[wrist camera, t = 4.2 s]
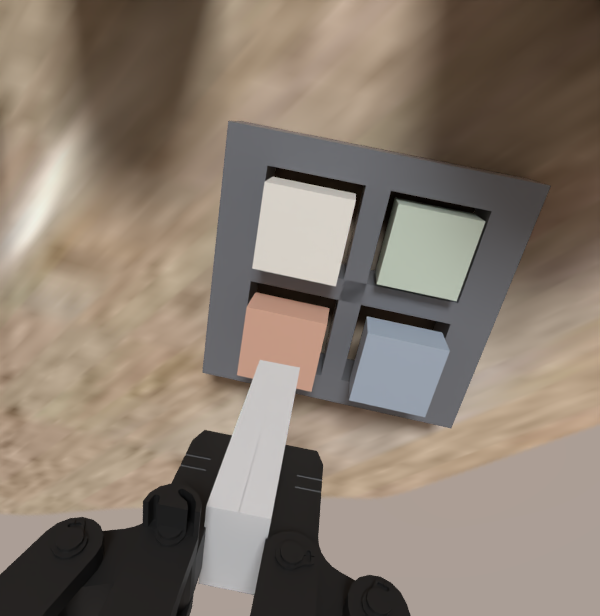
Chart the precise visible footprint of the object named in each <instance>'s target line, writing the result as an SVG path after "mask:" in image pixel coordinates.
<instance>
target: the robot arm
mask: <svg viewBox="0 0 600 616" xmlns="http://www.w3.org/2000/svg"><path fill="white" fill-rule="evenodd" d="M299 371H300V367H295V366H289V365H284V364H279V363H274V362H269V361H263V360H260V361H259V364H258V366H257V369H256V372H255V374H254V377H253V380H252V383H251V385H250V388H249V391H248V394H247V396H246V399H245V402H244V404H243V407H242V410H241V413H240V415H239V418H238V421H237V424H236V426H235V429H234V432H233V434H232V435H227V434H222V433H217V432H212V431H207V430H204V431H203V432H202V433H201V434H199V435H198V436H197V437H196V438H195V439H193V440H192V442H191V444H190V446H189V449H188V451H187V453H186V456H185V457H184V459H183V461H182V463H181V466H180V467H179V469H178V471H177V473H176V475H175V477H174V479H173V481H172V483H171V484H168V485H164V486H160V487H158V488H157V489H155V490H153V491H152V492H150V493H149V494H148V496H147V497H146V498H145V499H144V501H143V523H142V524H140V525H138V526H135V527H131V528H126V529H119V530H109V531H102V529H101V526H100V525H99V524H97V523H96V522H95V521H94V520H92V519H88V518H84V517H79V518H70V519H68V520H65V521H62V522H59V523H57V524H56V525H55V526H53V527H52V528H50V529H49V530H47V531H46V532H45V533H44V534H43V535H42V536H41V537H40V538H39V539H38V540H37V541H35V542H34V543H33V544H32V545H31V546H30V547H29V548H28V549H27V550H26V551H25V552H24V553H23V554H22V555H21V556H20V557H18V558H17V559H16V560H15V561H14V562H13V563H12V564H11V565H10V566H9V567H8V568H7V569H6V570H5V571H4V572H3V573H1V574H0V616H189V615H190V612H191V609H192V602H193V593H194V590H195V587H196V584H197V581H198V578H199V584H204V585H209V586H214V587H218V588H224V589H228V590H233V591H238V592H243V593H247V594H252V595H254V599H253V604H252V609H251V614H250V616H410V613H409V610H408V607H407V604H406V602H405V600H404V598H403V596H402V594H401V593H400V591H399V590H398V589H397V588H396V587H395V586H394V585H393V584H392V583H391V582H389V581H387V580H385V579H383V578H382V577H378V576H372V575H367V576H363V577H359V578H358V579H357V580H356V581H355V580H353V579H351V578H350V577H348V576H346V575H344V574H342V573H341V572H339V571H338V570H336V569H335V568H333V567H332V566H331V565H330V564H329V563H328V562H327V561H326V559H325V558H324V556H323V554H322V553H321V550H320V547H319V543H318V531H319V517H320V502H321V488H322V473H323V464H322V461H321V459H320V456H319V454H318V452H317V451H314V450H308V449H303V448H298V447H293V446H288V445H286V440H287V435H288V429H289V424H290V419H291V413H292V408H293V403H294V397H295V392H296V387H297V381H298V376H299Z"/></svg>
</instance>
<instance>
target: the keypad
mask: <svg viewBox="0 0 600 616" xmlns="http://www.w3.org/2000/svg"><path fill="white" fill-rule="evenodd" d="M276 167H277V168H282V169H287V170H292V171H297V172H302V173H307V174H312V175H317V176H321V177H326V178H331V179H336V180H341V181H346V182H351V183H356V184H361V185H364V186H363V190H362V194H361V198H360V203H359V207H358V211H357V215H356V220H355V224H354V228H353V232H352V237H351V241H350V245H349V249H348V254H347V258H346V262H345V264H341V267H340V271H339V275H338V279H337V284H336V286H332V285H327V284H322V283H318V282H313V281H308V280H304V279H299V278H294V277H289V276H285V275H280V274H275V273H271V272H266V271H261V270H257V269H252V266H253V259H254V252H255V245H256V238H257V231H258V224H259V217H260V210H261V203H262V196H263V189H264V182H265V181H267V180H268V179H270V178H271V177H274V175H275V168H276ZM550 187H551V186H550V185H547V184H543V183H540V182H537V181H534V180H531V179H527V178H522V177H517V176H512V175H507V174H502V173H497V172H492V171H487V170H482V169H477V168H472V167H467V166H462V165H457V164H452V163H447V162H442V161H437V160H432V159H427V158H422V157H417V156H412V155H407V154H402V153H397V152H392V151H387V150H382V149H377V148H372V147H367V146H362V145H357V144H352V143H347V142H342V141H337V140H332V139H327V138H323V137H318V136H313V135H308V134H303V133H298V132H293V131H288V130H283V129H278V128H273V127H268V126H263V125H258V124H253V123H248V122H243V121H228V130H227V140H226V150H225V159H224V169H223V179H222V188H221V198H220V208H219V217H218V227H217V237H216V246H215V256H214V266H213V275H212V285H211V295H210V304H209V314H208V324H207V334H206V343H205V353H204V363H203V372H202V373H207V374H211V375H215V376H220V377H224V378H229V379H233V380H238V381H242V382H247V383H252V380H253V379H252V378H247V377H243V376H238V375H237V371H238V364H239V357H240V350H241V343H242V336H243V329H244V322H245V315H246V308H247V306H248V304H249V302H250V301H251V299H252V297H253V296H254V294H255V292H257V287H258V283H262V284H266V285H271V286H276V287H280V288H285V289H290V290H294V291H299V292H304V293H308V294H313V295H318V296H322V297H327V298H332V299H336V304H335V309H334V313H333V317H332V321H331V326H330V330H329V334H328V338H327V343H326V347H325V351H324V353H320V357H319V361H318V366H317V370H316V374H315V379H314V383H313V387H312V392H310V391H305V390H301V389H296V392H295V393H296V394H300V395H305V396H309V397H314V398H318V399H323V400H327V401H331V402H336V403H340V404H345V405H349V406H354V407H358V408H363V409H367V410H372V411H376V412H381V413H385V414H390V415H394V416H398V417H403V418H407V419H412V420H416V421H421V422H425V423H430V424H434V425H439V426H443V427H448V428H451V427H452V425H453V423H454V420H455V418H456V415H457V413H458V410H459V408H460V406H461V403H462V401H463V398H464V396H465V393H466V391H467V388H468V386H469V384H470V381H471V379H472V376H473V374H474V371H475V369H476V367H477V364H478V362H479V359H480V357H481V354H482V352H483V350H484V347H485V345H486V342H487V340H488V337H489V335H490V333H491V330H492V328H493V325H494V323H495V320H496V318H497V315H498V313H499V311H500V308H501V306H502V303H503V301H504V298H505V296H506V294H507V291H508V289H509V286H510V284H511V281H512V279H513V277H514V274H515V272H516V269H517V267H518V264H519V262H520V260H521V257H522V255H523V252H524V250H525V247H526V245H527V242H528V240H529V238H530V235H531V233H532V230H533V228H534V225H535V223H536V221H537V218H538V216H539V213H540V211H541V208H542V206H543V204H544V201H545V199H546V196H547V194H548V191H549V189H550ZM391 191H395V192H400V193H405V194H409V195H414V196H419V197H424V198H429V199H434V200H439V201H444V202H449V203H453V204H458V205H463V206H468V207H473V208H475V211H474V214H476V215H477V216H478V217H480V218H481V219H482V220H484V221H485V224H484V227H483V230H482V233H481V235H480V238H479V241H478V244H477V246H476V249H475V252H474V255H473V258H472V260H471V263H470V266H469V269H468V271H467V274H466V277H465V280H464V282H463V285H462V288H461V291H460V293H459V296H458V299H457V301H453V300H449V299H444V298H439V297H434V296H430V295H425V294H420V293H416V292H411V291H406V290H402V289H397V288H392V287H387V286H383V285H378V284H377V282H376V275H375V271H374V270H370V269H371V265H372V261H373V257H374V254H375V250H376V246H377V242H378V238H379V234H380V231H381V227H382V223H383V219H384V215H385V212H386V208H387V204H388V200H389V196H390V193H391ZM361 305H364V306H369V307H373V308H378V309H383V310H387V311H392V312H397V313H401V314H406V315H411V316H415V317H420V318H425V319H429V320H434V321H436V323H435V326H434V329H433V331H437V332H442V333H443V336H444V338H445V340H446V343H447V345H448V348H449V350H450V352H449V355H448V357H447V360H446V363H445V365H444V368H443V371H442V373H441V376H440V379H439V381H438V384H437V387H436V389H435V392H434V395H433V397H432V400H431V403H430V405H429V408H428V411H427V413H426V416H425V417H422V416H417V415H413V414H408V413H404V412H399V411H395V410H390V409H386V408H381V407H377V406H372V405H368V404H363V403H359V402H354V401H350V400H349V383H350V376H351V372H352V369H353V365H354V361H355V360H352V359H347V356H348V352H349V349H350V345H351V341H352V337H353V333H354V330H355V326H356V322H357V318H358V314H359V311H360V307H361Z"/></svg>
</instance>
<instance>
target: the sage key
mask: <svg viewBox="0 0 600 616" xmlns="http://www.w3.org/2000/svg"><path fill="white" fill-rule="evenodd" d="M484 224H485V221H484V220H482V219H481V218H480V217H478V216H477V215H476V214H474V213H470V212H465V211H460V210H455V209H450V208H445V207H441V206H436V205H431V204H426V203H421V202H416V201H411V200H406V199H401V198H397V197H395V199H394V203H393V207H392V211H391V214H390V218H389V222H388V225H387V229H386V233H385V237H384V240H383V244H382V248H381V252H380V255H379V259H378V263H377V266H376V270H375V275H376V282H377V284H378V285H383V286H387V287H392V288H397V289H402V290H406V291H411V292H416V293H420V294H425V295H430V296H434V297H439V298H444V299H449V300H453V301H457V299H458V296H459V293H460V291H461V288H462V285H463V282H464V280H465V277H466V274H467V271H468V269H469V266H470V263H471V260H472V258H473V255H474V252H475V249H476V246H477V244H478V241H479V238H480V235H481V233H482V230H483V227H484Z"/></svg>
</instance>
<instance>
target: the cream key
mask: <svg viewBox="0 0 600 616" xmlns="http://www.w3.org/2000/svg"><path fill="white" fill-rule="evenodd" d="M355 202H356V194H355V193H350V192H345V191H340V190H336V189H331V188H326V187H321V186H316V185H311V184H306V183H302V182H297V181H292V180H287V179H282V178H277V177H271V178H270V179H268V180H267V181H265V182H264V189H263V196H262V203H261V210H260V217H259V224H258V231H257V238H256V245H255V252H254V259H253V266H252V269H257V270H261V271H266V272H271V273H275V274H280V275H285V276H289V277H294V278H299V279H304V280H308V281H313V282H318V283H322V284H327V285H332V286H336V284H337V279H338V275H339V271H340V267H341V262H342V258H343V254H344V249H345V245H346V241H347V236H348V232H349V228H350V223H351V219H352V215H353V210H354V206H355Z"/></svg>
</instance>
